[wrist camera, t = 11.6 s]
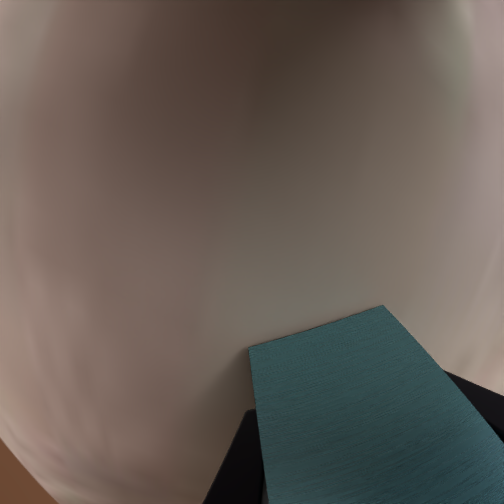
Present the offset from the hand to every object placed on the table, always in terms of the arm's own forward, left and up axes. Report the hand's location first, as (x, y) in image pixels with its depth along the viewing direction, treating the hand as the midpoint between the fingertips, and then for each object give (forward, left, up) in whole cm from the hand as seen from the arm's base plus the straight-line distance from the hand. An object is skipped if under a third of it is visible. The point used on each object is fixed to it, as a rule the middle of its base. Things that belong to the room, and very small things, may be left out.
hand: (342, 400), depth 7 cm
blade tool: (-1, +9, -2) cm, 9 cm away
